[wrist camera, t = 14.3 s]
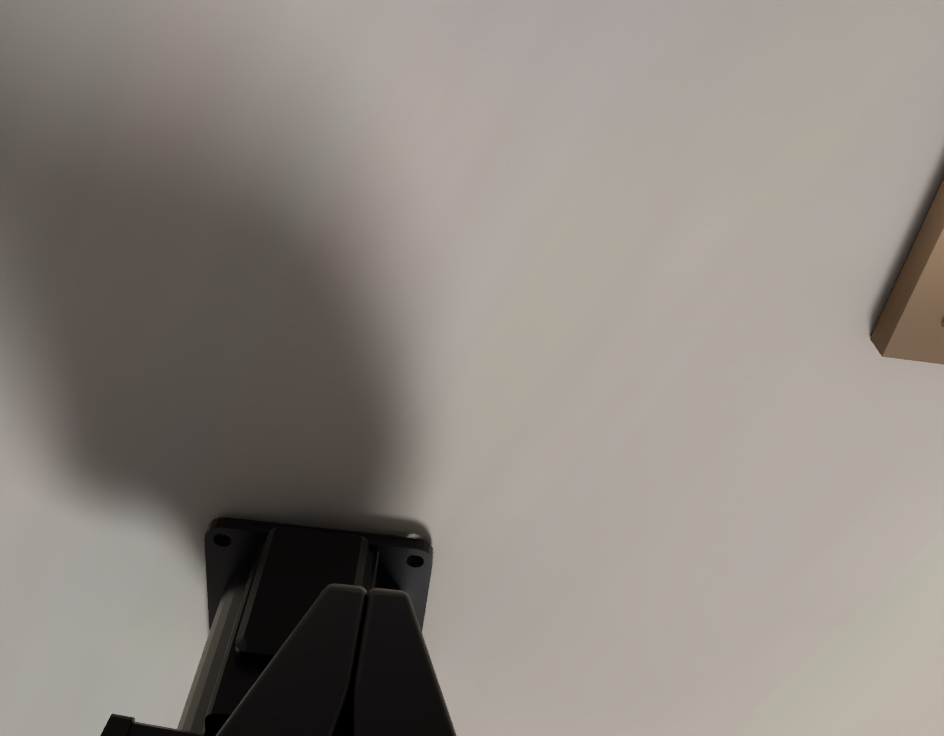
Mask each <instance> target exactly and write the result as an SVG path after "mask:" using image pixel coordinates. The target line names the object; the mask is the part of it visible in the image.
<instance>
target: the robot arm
mask: <svg viewBox="0 0 944 736" xmlns="http://www.w3.org/2000/svg"><path fill="white" fill-rule="evenodd" d="M221 534H225V535H227V536H228V537H226V536H222V535H221ZM411 555H418V556H421V557H413V556H411ZM205 556H206V574H207V592H208V610H209V628H210V632H209V635H208V638H207V641H206V644H205V647H204V650H203V653H202V656H201V659H200V662H199V665H198V668H197V671H196V674H195V677H194V680H193V683H192V686H191V689H190V692H189V695H188V698H187V701H186V704H185V707H184V710H183V713H182V716H181V719H180V722H179V725H178V728H177V729H172V728H167V727H161V726H155V725H150V724H144V723H139V722H135V718H134V717H128V716H122V715H117V714H112V715H111V716H110V718H109V720H108V722H107V724H106V726H105V728H104V730H103V732H102V734H101V736H456V733H455V730H454V727H453V724H452V721H451V718H450V715H449V712H448V709H447V706H446V703H445V700H444V697H443V694H442V691H441V688H440V685H439V682H438V680H437V677H436V674H435V671H434V668H433V665H432V662H431V659H430V656H429V653H428V650H427V647H426V644H425V641H424V638H423V635H422V628H423V621H424V615H425V608H426V602H427V595H428V589H429V582H430V576H431V569H432V562H433V548H432V547H431V545H430V544H429V543H427V542H426V541H424V540H420V539H414V538H405V537H396V536H387V535H378V534H369V533H360V532H351V531H342V530H333V529H324V528H315V527H306V526H297V525H288V524H279V523H270V522H261V521H252V520H243V519H234V518H217V519H214V520H213V521H212V522H211V523H210V524H209V526H208V529H207V531H206V534H205Z"/></svg>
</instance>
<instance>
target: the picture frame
mask: <svg viewBox="0 0 944 736" xmlns="http://www.w3.org/2000/svg"><path fill="white" fill-rule="evenodd" d="M870 339H871V341H872V342H873V344H874V345H875V347H876V348H877V350H878V351H879V353H880V354H881V356H882V357H890V358H898V359H906V360H914V361H922V362H930V363H938V364H944V179H943V181H942V183H941V186H940V188H939V190H938V192H937V194H936V196H935V199H934V201H933V203H932V205H931V207H930V209H929V212H928V214H927V216H926V218H925V220H924V222H923V225H922V227H921V229H920V231H919V233H918V235H917V238H916V240H915V242H914V244H913V246H912V248H911V251H910V253H909V255H908V257H907V259H906V261H905V264H904V266H903V268H902V270H901V272H900V274H899V277H898V279H897V281H896V283H895V285H894V287H893V290H892V292H891V294H890V296H889V298H888V300H887V303H886V305H885V307H884V309H883V311H882V313H881V316H880V318H879V320H878V322H877V324H876V326H875V329H874V331H873V333H872V335H871V337H870Z"/></svg>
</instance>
